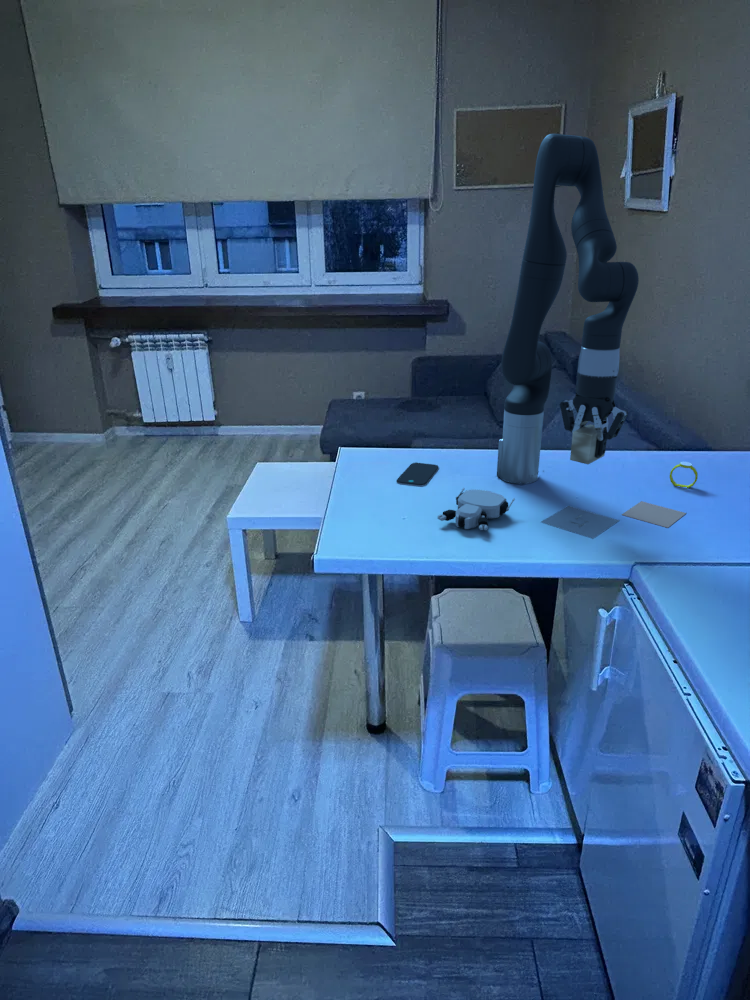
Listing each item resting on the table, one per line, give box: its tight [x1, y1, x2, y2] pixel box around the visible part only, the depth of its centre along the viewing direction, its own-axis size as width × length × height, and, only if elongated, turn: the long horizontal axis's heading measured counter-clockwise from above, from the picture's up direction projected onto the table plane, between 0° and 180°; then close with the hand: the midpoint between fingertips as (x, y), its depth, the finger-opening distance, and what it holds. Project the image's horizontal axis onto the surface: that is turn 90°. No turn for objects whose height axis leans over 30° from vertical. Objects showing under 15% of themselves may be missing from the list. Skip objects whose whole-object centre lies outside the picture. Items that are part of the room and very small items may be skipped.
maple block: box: [569, 423, 606, 465], centre depth 138 cm, size 4×7×6 cm, turn 137°
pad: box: [621, 500, 687, 529], centre depth 148 cm, size 10×10×1 cm
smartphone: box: [396, 462, 440, 487], centre depth 172 cm, size 8×1×15 cm
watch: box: [669, 461, 699, 489], centre depth 162 cm, size 6×3×6 cm, turn 59°
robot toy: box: [437, 487, 516, 531], centre depth 146 cm, size 12×4×15 cm
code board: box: [540, 505, 620, 540], centre depth 145 cm, size 12×12×1 cm
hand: (587, 454), depth 139 cm, fingers closed on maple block, 4 cm apart
